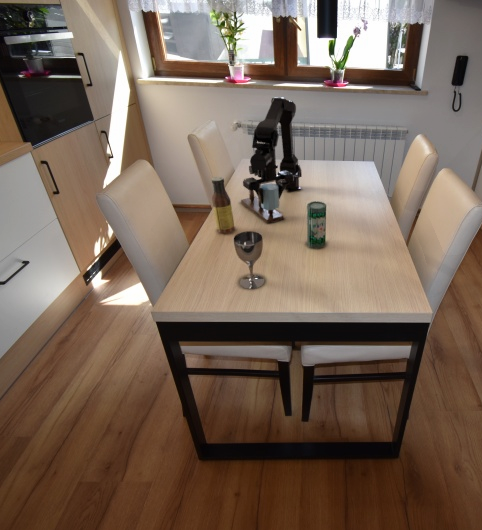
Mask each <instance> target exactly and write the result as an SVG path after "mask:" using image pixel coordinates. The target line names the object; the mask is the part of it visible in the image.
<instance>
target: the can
mask: <svg viewBox="0 0 482 530" xmlns="http://www.w3.org/2000/svg"><path fill="white" fill-rule="evenodd" d="M306 229H307V231H306V232H307V233H306V236H307V237H306V238H307V241H306V244H307V246H308V248H311V249H317V250H319V249H322V248H324V247H325V246H326V240H327V239H326V235H327V234H326V233H327V230H326V229H327V204H326V203H325V202H323V201H318V200H314V201H310V202H308V203H307V206H306Z"/></svg>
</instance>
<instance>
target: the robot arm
mask: <svg viewBox="0 0 482 530" xmlns="http://www.w3.org/2000/svg"><path fill="white" fill-rule="evenodd" d="M296 112H297V105H296V103H295V102H294V101H293V100H288V99H287V98H284V97H277V96H275V97H272V98H271V100H270V106H269V108H268V110H267V113H266V116H265V118H264V119H263V120H262V121H259V122H258V124H257V125H256V127H255V128H254V131H253V137H252V138H253V139H252V144H251V148H252V149H255V150H254V153H253V154H252V155H251V157H250V161H249V163H250V165H248V172H249V174H250V175H254V177H253V176H252V177H246V178H243V180H242V186H243V187H244V189H246V190H248V191H249V190H250V191H254V193H256V197H257V198H259V200H260V202H261V204H263V189H262V188H261V185H263V184H268V183H273V182H275V184H276V185H278V187H279V200H280V199H281V198H282V195H283V193H284V190H285V191H287V192H288V193H291V192H294V191H299V190H301V189H302V188H301V187H300V181H299V180H300V178H302V176H303V175H302V174H303V171H302V168H301V166H300V164H299V159H298V157H297V156H296V155H295V149H294V137H293V136H294V135H293V123H292V122H293V120H294V118H295V116H296ZM278 125H279V126H280V134H281V145H282V146H281V147H282V154H283V157H282V159H281V161H280V163H279V165H277V158H276V157H277V156H276V147H277V146H278V141H279V138H280V137H279V136H280V134H279V131H278ZM278 168H279V171H278V172H277V169H278ZM256 176H257V178H258V179H257V178H255V177H256Z"/></svg>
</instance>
